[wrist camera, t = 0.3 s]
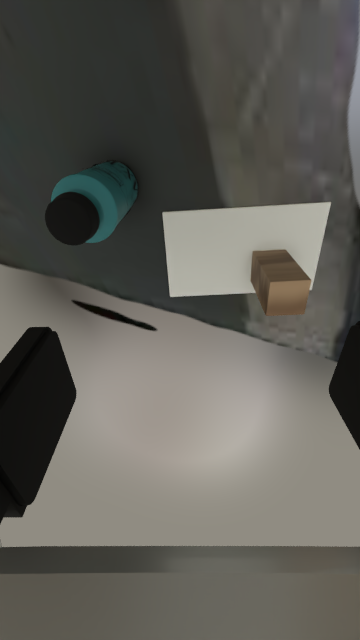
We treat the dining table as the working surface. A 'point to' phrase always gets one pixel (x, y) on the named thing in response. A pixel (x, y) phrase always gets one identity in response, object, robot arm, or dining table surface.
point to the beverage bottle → (91, 203)
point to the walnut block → (279, 282)
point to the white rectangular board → (238, 244)
